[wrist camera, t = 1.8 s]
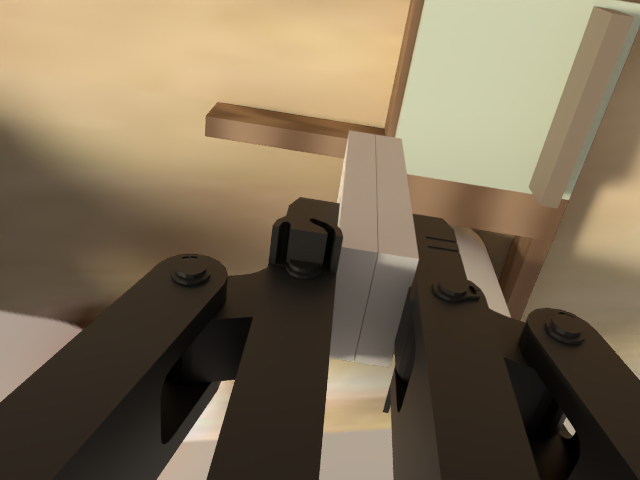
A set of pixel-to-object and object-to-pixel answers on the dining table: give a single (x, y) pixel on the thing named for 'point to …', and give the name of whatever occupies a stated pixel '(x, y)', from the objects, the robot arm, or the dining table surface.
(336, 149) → the board
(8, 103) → the dining table surface
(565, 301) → the dining table surface
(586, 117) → the lid
